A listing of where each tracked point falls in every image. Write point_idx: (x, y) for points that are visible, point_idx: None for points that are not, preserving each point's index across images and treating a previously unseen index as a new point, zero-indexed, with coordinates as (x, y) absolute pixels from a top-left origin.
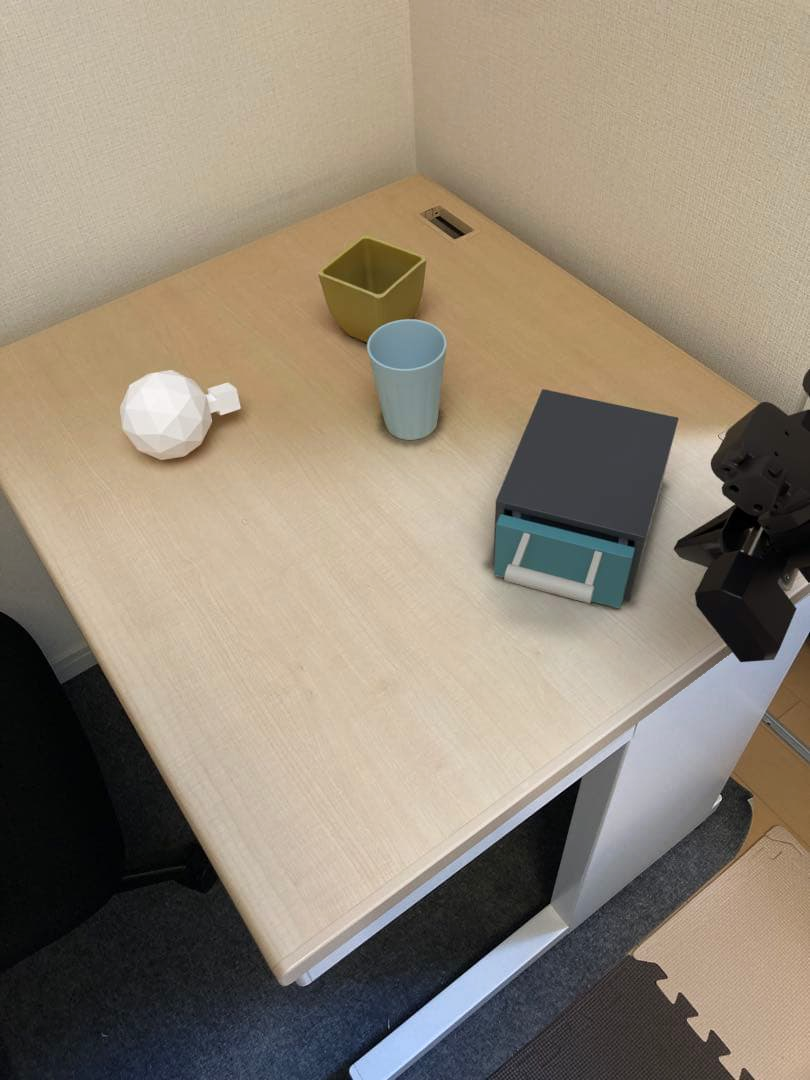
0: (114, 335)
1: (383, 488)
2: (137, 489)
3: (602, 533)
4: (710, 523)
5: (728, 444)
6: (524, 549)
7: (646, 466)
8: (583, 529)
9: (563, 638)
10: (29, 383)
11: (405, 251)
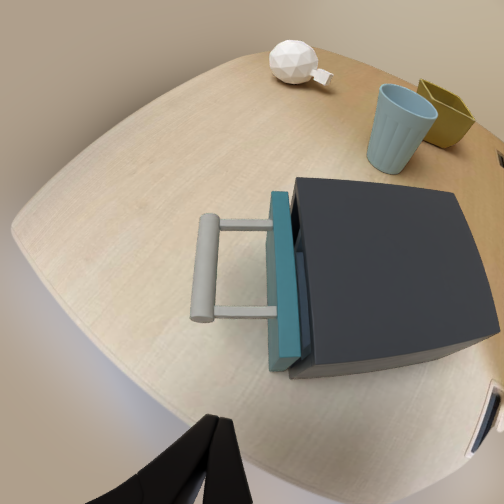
0: (339, 61)
1: (319, 157)
2: (255, 78)
3: None
4: (227, 497)
5: None
6: (246, 225)
7: (433, 324)
8: None
9: (220, 326)
10: None
11: (469, 112)
